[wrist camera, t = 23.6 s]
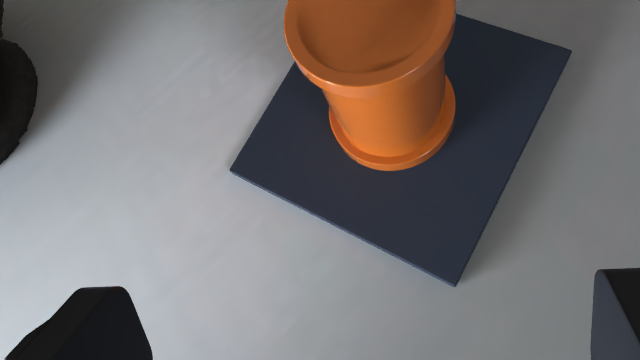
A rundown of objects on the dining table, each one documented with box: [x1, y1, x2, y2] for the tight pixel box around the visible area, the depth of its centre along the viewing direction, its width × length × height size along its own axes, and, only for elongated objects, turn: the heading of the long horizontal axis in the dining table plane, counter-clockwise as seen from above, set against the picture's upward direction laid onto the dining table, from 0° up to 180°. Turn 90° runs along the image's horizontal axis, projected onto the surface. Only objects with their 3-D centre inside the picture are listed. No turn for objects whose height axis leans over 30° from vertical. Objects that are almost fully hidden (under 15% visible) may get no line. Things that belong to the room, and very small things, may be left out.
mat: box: [230, 14, 572, 287], centre depth 25 cm, size 12×12×1 cm
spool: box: [284, 0, 456, 171], centre depth 21 cm, size 6×6×8 cm
